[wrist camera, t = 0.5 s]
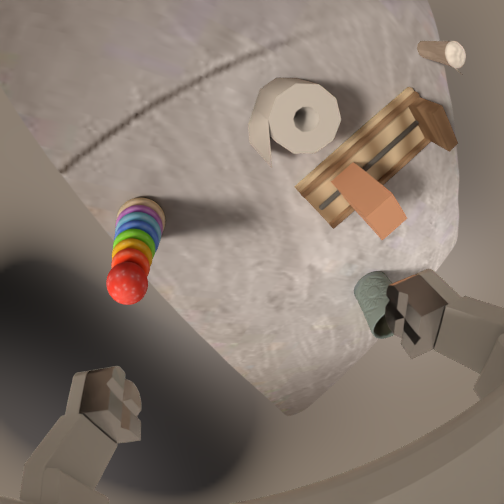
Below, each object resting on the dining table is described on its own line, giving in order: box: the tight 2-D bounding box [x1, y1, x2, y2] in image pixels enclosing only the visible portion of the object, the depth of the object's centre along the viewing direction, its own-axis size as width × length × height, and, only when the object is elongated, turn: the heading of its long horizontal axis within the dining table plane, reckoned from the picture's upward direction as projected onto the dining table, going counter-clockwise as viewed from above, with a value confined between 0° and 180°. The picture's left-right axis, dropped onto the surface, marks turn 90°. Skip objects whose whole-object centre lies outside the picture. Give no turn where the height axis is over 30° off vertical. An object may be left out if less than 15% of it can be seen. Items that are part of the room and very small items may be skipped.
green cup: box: [354, 271, 394, 339], centre depth 64 cm, size 10×10×12 cm
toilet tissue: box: [248, 78, 341, 168], centre depth 40 cm, size 9×13×9 cm
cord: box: [319, 120, 419, 210], centre depth 48 cm, size 24×1×1 cm, turn 133°
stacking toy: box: [107, 198, 165, 305], centre depth 41 cm, size 8×8×19 cm
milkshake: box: [417, 41, 466, 74], centre depth 35 cm, size 4×5×10 cm
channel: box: [295, 87, 458, 229], centre depth 46 cm, size 27×11×8 cm, turn 133°
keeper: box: [331, 162, 407, 240], centre depth 45 cm, size 5×6×12 cm
